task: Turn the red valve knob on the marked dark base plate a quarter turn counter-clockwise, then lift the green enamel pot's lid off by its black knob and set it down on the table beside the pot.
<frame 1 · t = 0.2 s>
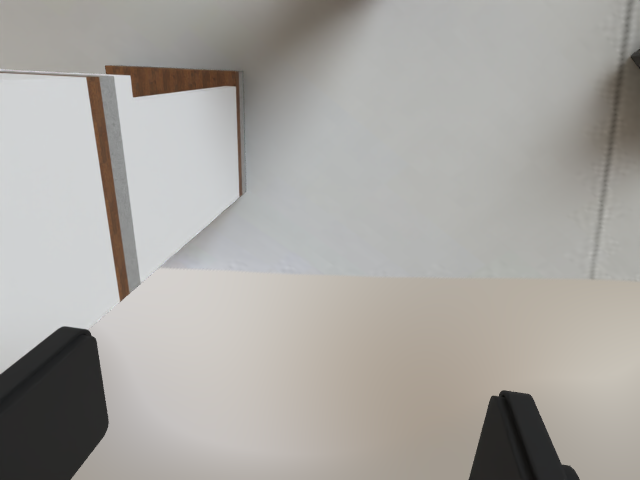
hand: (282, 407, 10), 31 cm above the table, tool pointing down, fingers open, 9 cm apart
display case: (185, 130, 40), on the table
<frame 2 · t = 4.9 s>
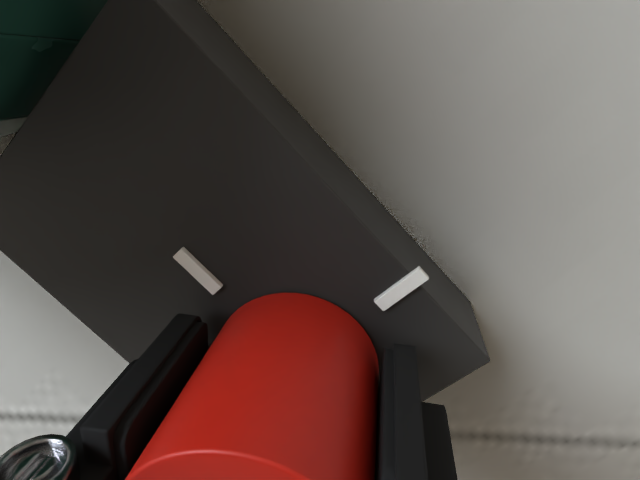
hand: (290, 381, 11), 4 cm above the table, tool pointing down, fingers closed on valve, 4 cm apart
marked dark base plate: (250, 243, 14), on the table
valve: (272, 441, 9), point 6 cm above the table, hinge at 0.2°, touching gripper
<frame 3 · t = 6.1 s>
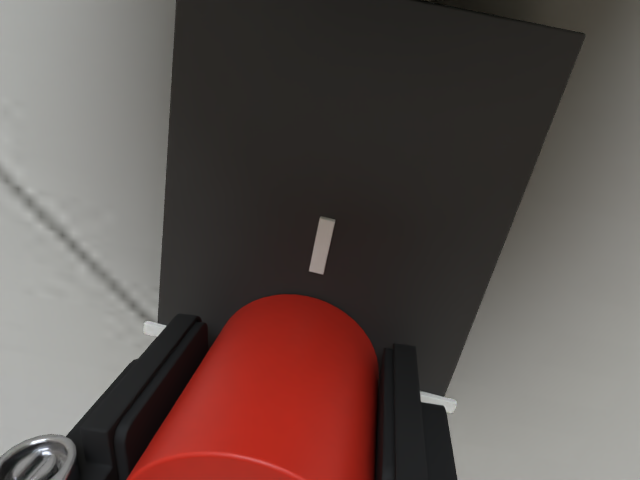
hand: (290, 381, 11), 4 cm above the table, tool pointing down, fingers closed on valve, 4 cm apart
marked dark base plate: (332, 225, 13), on the table
valve: (272, 443, 9), point 6 cm above the table, hinge at 55.3°, touching gripper
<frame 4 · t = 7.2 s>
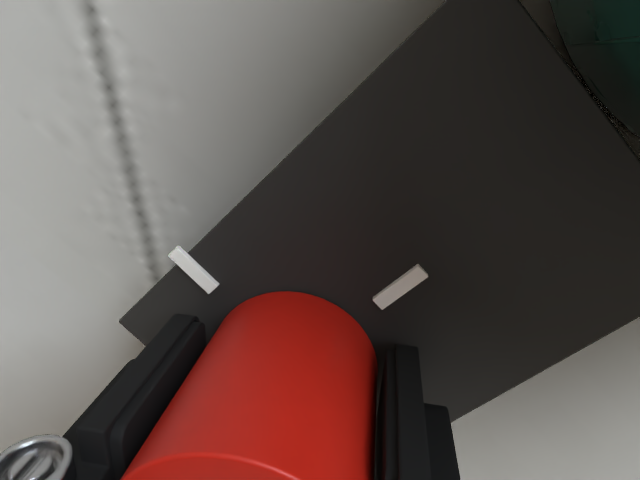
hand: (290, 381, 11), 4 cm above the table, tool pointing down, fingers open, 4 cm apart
marked dark base plate: (382, 251, 13), on the table
valve: (269, 442, 9), point 6 cm above the table, hinge at 93.1°
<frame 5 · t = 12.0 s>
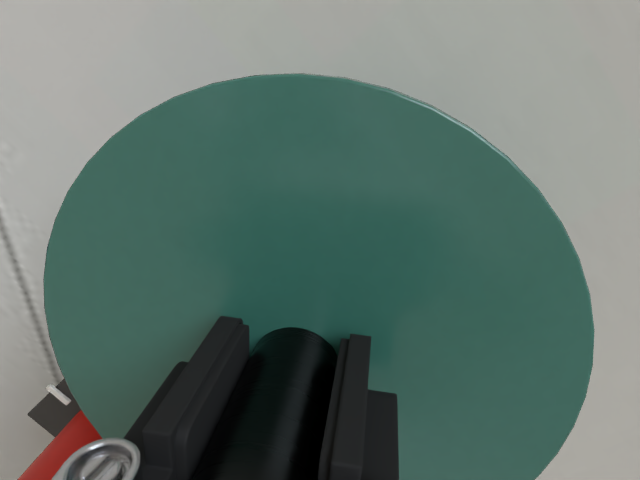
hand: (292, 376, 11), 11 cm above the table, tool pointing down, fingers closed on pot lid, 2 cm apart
marked dark base plate: (168, 374, 26), on the table
valve: (79, 478, 22), point 6 cm above the table, hinge at 93.3°
pot lid: (300, 351, 12), point 10 cm above the table, touching gripper, pot
when the fingers open (2 cm above the table, at t = 20.3 s): pot lid stays where it is, point 1 cm above the table.
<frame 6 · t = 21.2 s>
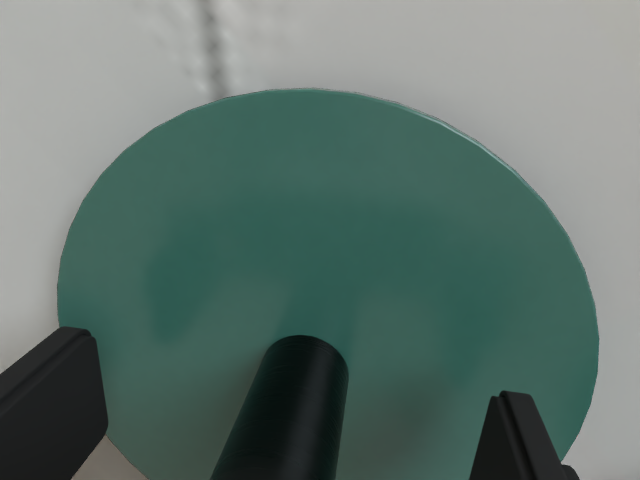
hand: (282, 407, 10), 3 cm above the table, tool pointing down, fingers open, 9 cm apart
pot lid: (309, 358, 13), point 1 cm above the table
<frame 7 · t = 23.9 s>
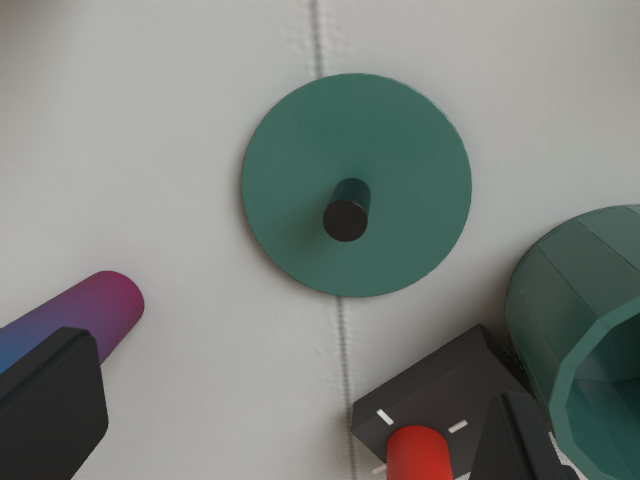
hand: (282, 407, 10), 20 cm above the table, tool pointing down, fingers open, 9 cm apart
marked dark base plate: (445, 399, 34), on the table
cup: (116, 297, 35), on the table
valve: (419, 479, 30), point 6 cm above the table, hinge at 93.3°
pot lid: (352, 193, 28), point 1 cm above the table
pot: (612, 302, 29), on the table
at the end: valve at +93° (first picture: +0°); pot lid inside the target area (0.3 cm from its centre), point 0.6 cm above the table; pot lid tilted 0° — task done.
